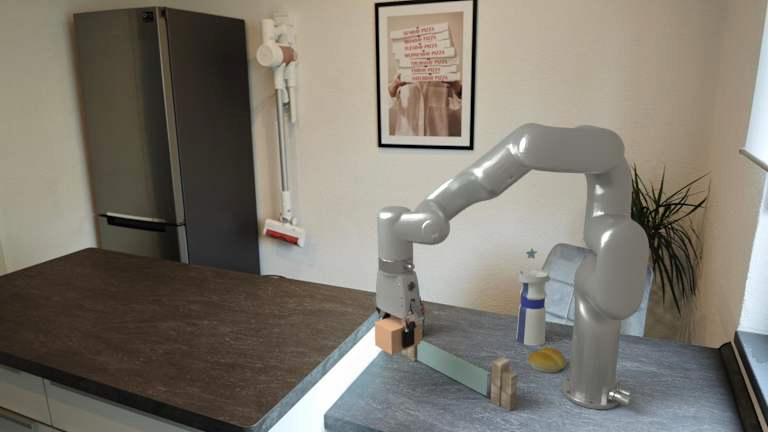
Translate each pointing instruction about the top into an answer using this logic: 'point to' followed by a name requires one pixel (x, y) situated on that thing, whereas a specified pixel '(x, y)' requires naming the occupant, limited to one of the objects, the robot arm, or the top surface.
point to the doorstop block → (393, 335)
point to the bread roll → (547, 360)
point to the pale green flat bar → (455, 368)
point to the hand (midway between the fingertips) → (397, 340)
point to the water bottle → (532, 306)
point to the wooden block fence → (501, 379)
